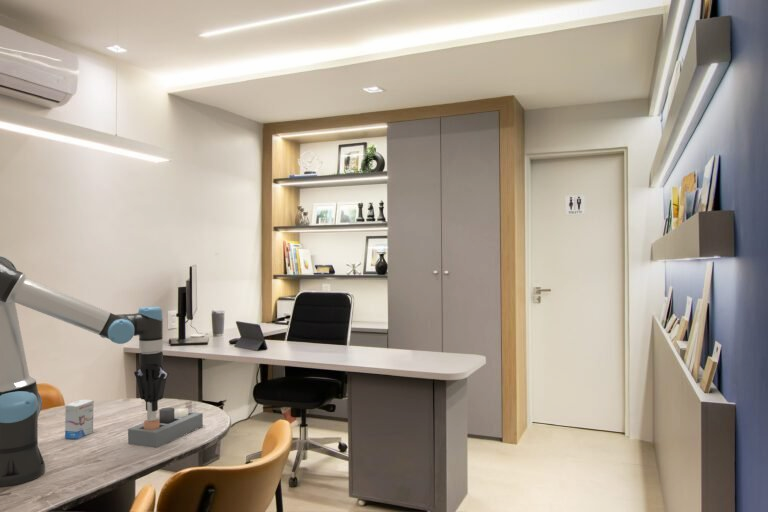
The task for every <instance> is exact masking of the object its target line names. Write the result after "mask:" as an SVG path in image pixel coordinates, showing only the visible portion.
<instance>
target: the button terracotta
mask: <svg viewBox="0 0 768 512" xmlns="http://www.w3.org/2000/svg"><path fill="white" fill-rule="evenodd" d="M143 423H144V429H145V430H155V429H157V428H160V420H159V419H156V420H153V421H147V419H146V420H144V421H143Z"/></svg>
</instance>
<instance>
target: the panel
mask: <svg viewBox="0 0 768 512" xmlns="http://www.w3.org/2000/svg"><path fill="white" fill-rule="evenodd" d="M203 415H204V413H203V412H196V411H188V416H186V417H184V418H178V417H174V422H172V423H169V424H164V423H160V428H157V429H155V430H145V429H144V422H143V423H140V424H137V425H135V426H132V427H130V428H128V429H127V441H128V442H127V444H128V445H134V446H135V445H136V446H142V447H143V446H144V447H147V448H159V447H162V446H163V445H166V444H168V443H171V442H172V441H174V440H176V438H177V439H178V437H179V438H180V436H181V437H183V436H185V435H187V434H190V433H191V431H192V432H194V431H196V430H198V429H200V428H199V427H201V426H203V419H204V417H203ZM156 419H159V416H158V417H156ZM197 428H198V429H197ZM201 428H202V427H201ZM195 429H196V430H195ZM193 430H194V431H193ZM189 432H190V433H189ZM186 433H187V434H186ZM184 434H185V435H184ZM182 435H183V436H182Z"/></svg>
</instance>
